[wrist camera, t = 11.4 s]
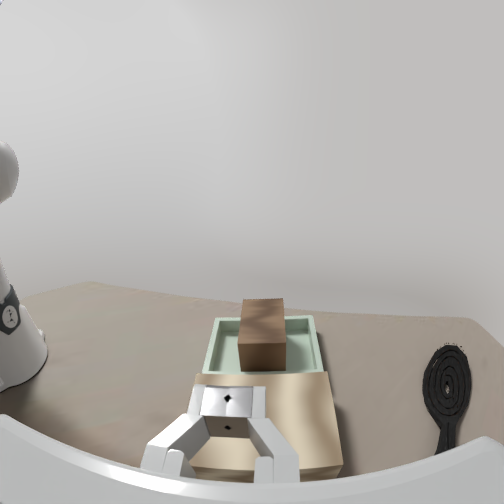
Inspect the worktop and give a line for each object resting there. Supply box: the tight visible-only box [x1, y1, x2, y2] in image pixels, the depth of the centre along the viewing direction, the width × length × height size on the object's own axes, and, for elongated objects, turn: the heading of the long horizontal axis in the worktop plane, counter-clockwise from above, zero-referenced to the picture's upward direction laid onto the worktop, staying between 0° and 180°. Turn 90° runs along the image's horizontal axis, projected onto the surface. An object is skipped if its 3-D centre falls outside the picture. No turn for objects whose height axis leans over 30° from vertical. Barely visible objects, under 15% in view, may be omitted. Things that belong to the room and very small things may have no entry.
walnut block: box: [237, 298, 286, 372], centre depth 40 cm, size 6×7×10 cm
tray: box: [202, 315, 324, 375], centre depth 41 cm, size 16×13×3 cm
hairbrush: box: [422, 343, 471, 455], centre depth 25 cm, size 8×4×25 cm
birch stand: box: [186, 371, 343, 483], centre depth 27 cm, size 16×13×5 cm
